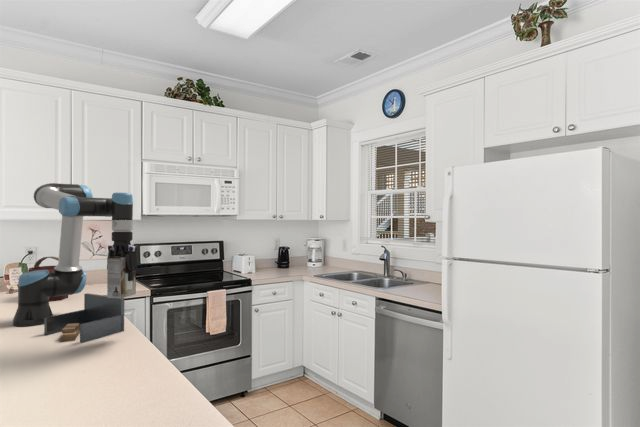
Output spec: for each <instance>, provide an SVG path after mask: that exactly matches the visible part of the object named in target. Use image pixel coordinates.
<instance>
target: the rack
mask: <svg viewBox="0 0 640 427" xmlns="http://www.w3.org/2000/svg"><path fill="white" fill-rule="evenodd" d="M83 295H84V301H83V302H84V304H83V306H84V307H83V309H79V310H76V311H71V312H66V313H61V314H57V315H53V316H51V317H46V318H44V324H43V325H44V326H43V327H44V332H43V335H44V336H50V335H54V334H58V333H62V329H63V328H64V327H65V326H66V325H67V324H73V323H80V327H79V330H80V333H79V343H81V344H83V343H87V342H92V341H93V340H97V339H101V338H104V337H107V336H112V335H114V334H118V333H122V332H124V331H125V298H126V297H124V298H107V295H104V294H96V293H95V294H94V293H88V292H87V293H84V294H83Z"/></svg>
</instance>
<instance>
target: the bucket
mask: <svg viewBox="0 0 640 427" xmlns="http://www.w3.org/2000/svg"><path fill="white" fill-rule="evenodd" d="M47 259H53V260H55V261H59V256H58V257H57V256H43V257H41V258H40V259H38V260H37V261H35V262H34V266H32V267H29V268H28V269H27V270H28V272H31V271H37V270H49V272H54V267H55V266H56V265H43V266H40V265H41V264H42V262H43V261H45V260H47ZM68 297H69V295H63V296H56V297H49V303H50V302H58V301H59V302H60V301H64V300H65V299H68Z"/></svg>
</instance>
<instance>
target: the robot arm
mask: <svg viewBox="0 0 640 427" xmlns="http://www.w3.org/2000/svg"><path fill="white" fill-rule="evenodd" d="M33 200H34V202H35V203H36V204H37V205H38V206H39V207H42V208H45V209H53V210H54V209H55V210H57V211H58V212H59V213H60V215H61V227H60V228H61V229H60V236H59V237H60V238H59V251H58V258H59V261H58V260H57V261H58V262H57V263H58V264H56V265H54V266H55V267H54V272H49V270H37V271H31V272H24V273H22V274H20V275H19V277H18V282H17V289H18V290H17V292H18V293H17V309H16V312H15V313H14V317H13V319H12V325H13V326H14V327H31V326H39V325H44V318H46V317H51V316H54V313H53V311H52V308H51V306H50V302H49V297H56V296H63V295H68V296H72V295H76V294H80V293H81V292H83V290H84V289H85V287H86V283H87V274H86V271H85V270H84V269H83V267H82V266H81V265H80V257H81V255H80V254H81V247H82V246H81V244H82V235H83V222H84V217H105V218H107V217H109V218H110V217H111V231H112V232H111V241H112V242H113V244H112V245H108V246H107V249H108V250H107V252H108V254H107V257H112V256H122V257H126V270H127V272H125V290H129V289H132V281H133V272H135V271H136V272H137V271H138V261H137V260H138V259H137V258H138V257H137V250H138V249H137V245H132V244H131V242H132V241H133V239H134V238H133V234H134V233H133V230H134V227H133V224H134V222H133V219H134V218H133V217H134V216H133V215H134V214H133V209H134V200H133V194H132V193H131V192H118V191H117V192H113V193H112V194H111V198H109V197H108V198H107V197H94V196H93V192H92V190H91V188H90V187H88V186H87V185H84V184H76V183H56V182H53V183H51V182H50V183H46V184H42V185H40V186H38V187H37V188H36V189H35V190H34V193H33Z"/></svg>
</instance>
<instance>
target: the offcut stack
mask: <svg viewBox="0 0 640 427" xmlns="http://www.w3.org/2000/svg"><path fill="white" fill-rule="evenodd" d="M61 334H62V336H61V337H60V341H59V343H62V342H72V341H74V342H75V341H76V340H77V338H78V336H79V335H80V323H73V324H67V325H66V326H65V327H64V328H63V329H62V332H61Z"/></svg>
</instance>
